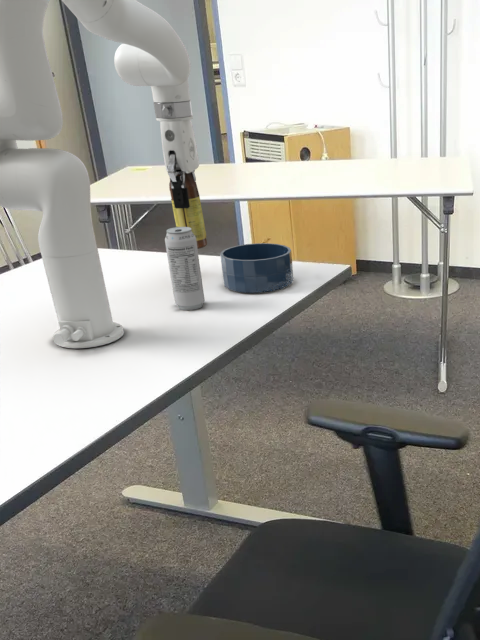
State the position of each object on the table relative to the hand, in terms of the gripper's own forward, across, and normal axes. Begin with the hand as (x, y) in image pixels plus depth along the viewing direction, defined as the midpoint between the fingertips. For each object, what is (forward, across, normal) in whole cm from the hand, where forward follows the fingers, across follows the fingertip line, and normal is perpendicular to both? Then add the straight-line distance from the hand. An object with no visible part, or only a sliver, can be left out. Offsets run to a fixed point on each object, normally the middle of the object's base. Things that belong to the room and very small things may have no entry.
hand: (186, 203), depth 168 cm
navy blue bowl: (+16, -7, -16) cm, 23 cm away
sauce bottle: (+9, 0, 0) cm, 9 cm away
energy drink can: (+16, -23, -5) cm, 28 cm away
